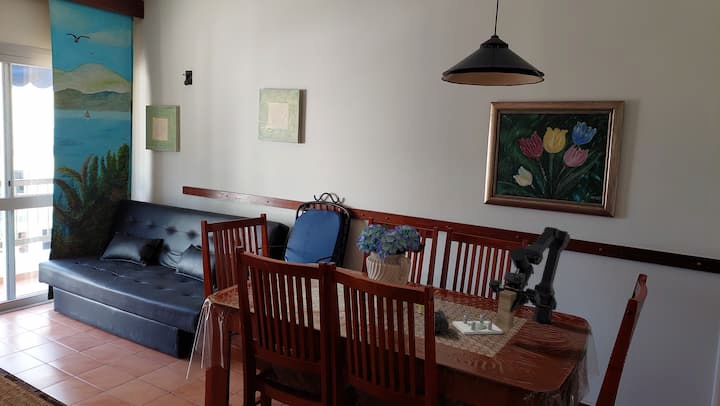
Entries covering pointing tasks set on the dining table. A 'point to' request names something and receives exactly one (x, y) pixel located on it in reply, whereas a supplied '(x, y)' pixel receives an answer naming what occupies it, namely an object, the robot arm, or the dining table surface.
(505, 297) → the walnut post
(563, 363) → the dining table surface
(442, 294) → the dining table surface
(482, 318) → the plate
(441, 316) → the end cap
